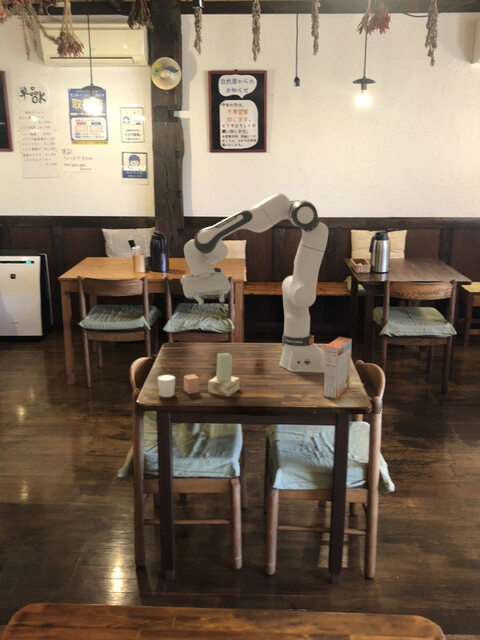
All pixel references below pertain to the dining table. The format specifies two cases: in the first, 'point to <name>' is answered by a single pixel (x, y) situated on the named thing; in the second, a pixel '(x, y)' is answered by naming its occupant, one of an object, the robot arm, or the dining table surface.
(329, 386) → the cracker box
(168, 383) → the shot glass
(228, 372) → the sage block
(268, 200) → the robot arm
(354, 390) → the dining table surface
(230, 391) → the beech base
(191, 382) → the terracotta block
